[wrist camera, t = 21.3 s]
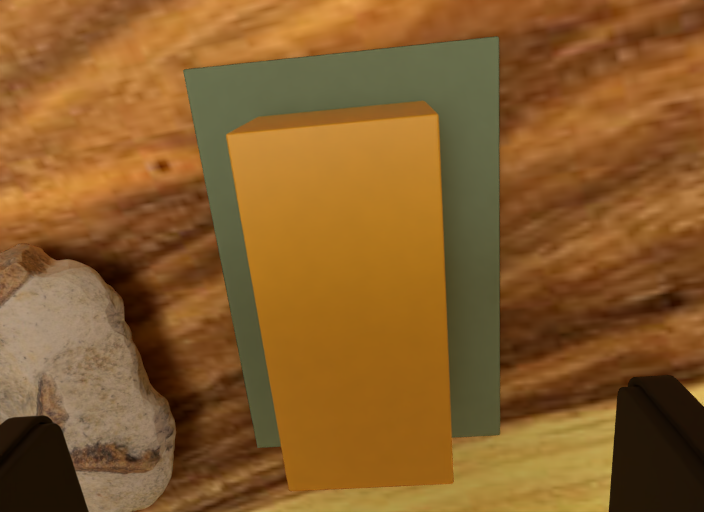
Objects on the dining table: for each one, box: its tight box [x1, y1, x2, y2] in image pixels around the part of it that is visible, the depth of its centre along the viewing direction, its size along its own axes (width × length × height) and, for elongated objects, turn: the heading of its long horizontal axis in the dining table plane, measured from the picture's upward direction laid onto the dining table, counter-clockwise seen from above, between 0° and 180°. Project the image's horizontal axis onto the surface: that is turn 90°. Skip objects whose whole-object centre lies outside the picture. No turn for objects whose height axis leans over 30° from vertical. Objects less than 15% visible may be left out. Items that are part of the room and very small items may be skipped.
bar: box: [226, 101, 454, 491], centre depth 14 cm, size 4×10×3 cm, turn 6°
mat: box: [183, 36, 500, 448], centre depth 16 cm, size 12×8×1 cm, turn 6°
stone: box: [0, 243, 176, 512], centre depth 16 cm, size 10×7×3 cm
